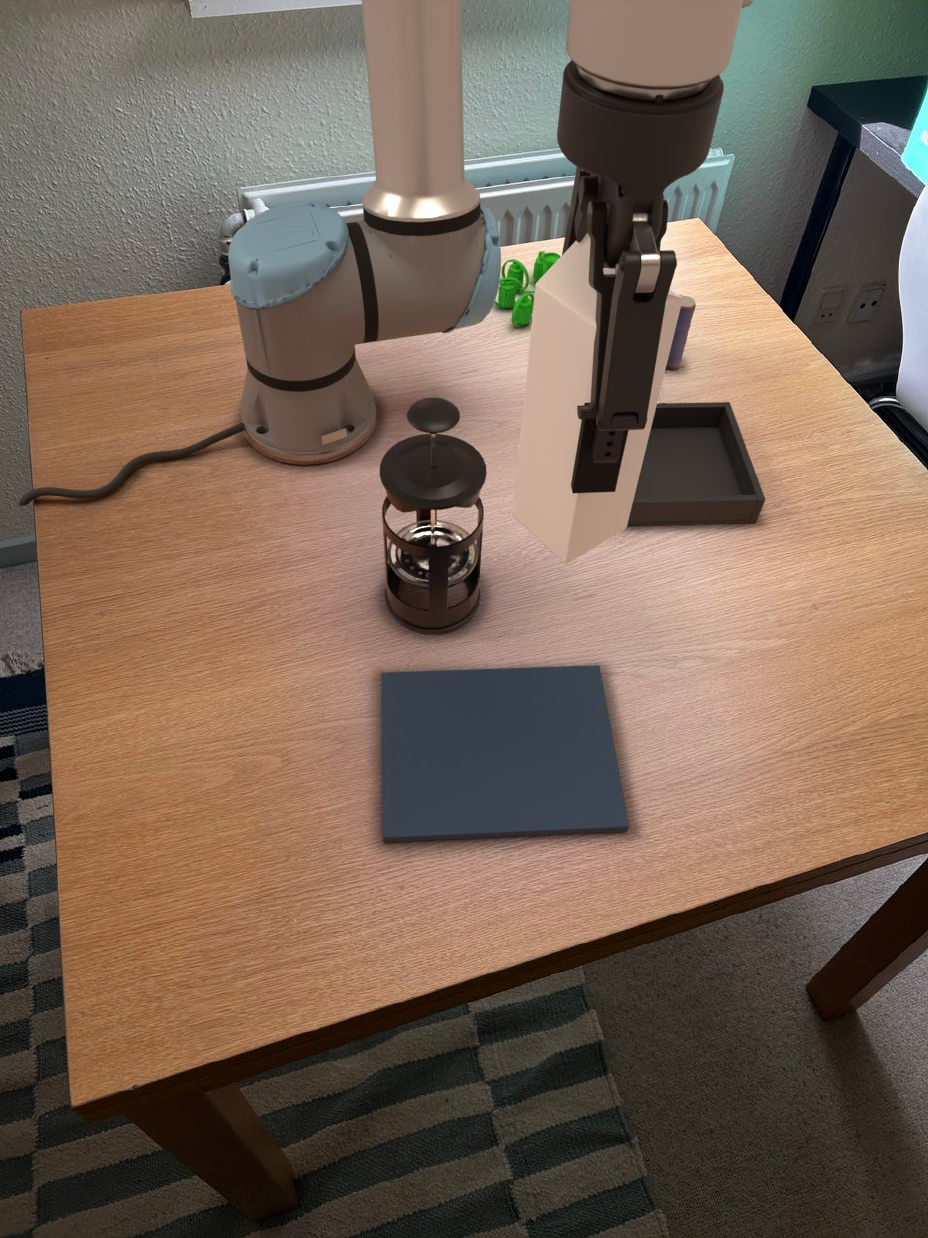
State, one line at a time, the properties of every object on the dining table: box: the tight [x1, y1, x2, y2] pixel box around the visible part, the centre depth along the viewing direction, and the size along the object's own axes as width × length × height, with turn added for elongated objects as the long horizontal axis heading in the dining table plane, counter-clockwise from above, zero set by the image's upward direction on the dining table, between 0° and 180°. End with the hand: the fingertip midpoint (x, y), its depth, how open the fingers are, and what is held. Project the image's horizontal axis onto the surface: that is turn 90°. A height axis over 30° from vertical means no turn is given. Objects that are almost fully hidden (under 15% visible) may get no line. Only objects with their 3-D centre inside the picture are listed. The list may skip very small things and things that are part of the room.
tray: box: [627, 401, 766, 527], centre depth 100 cm, size 16×16×4 cm
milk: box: [511, 233, 683, 565], centre depth 58 cm, size 6×6×22 cm
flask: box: [665, 294, 697, 371], centre depth 110 cm, size 9×3×11 cm, turn 61°
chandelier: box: [494, 250, 562, 328], centre depth 118 cm, size 15×15×7 cm
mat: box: [381, 664, 630, 843], centre depth 79 cm, size 20×16×1 cm
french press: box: [379, 397, 488, 635], centre depth 81 cm, size 12×9×23 cm
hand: (581, 441), depth 60 cm, fingers closed on milk, 8 cm apart
